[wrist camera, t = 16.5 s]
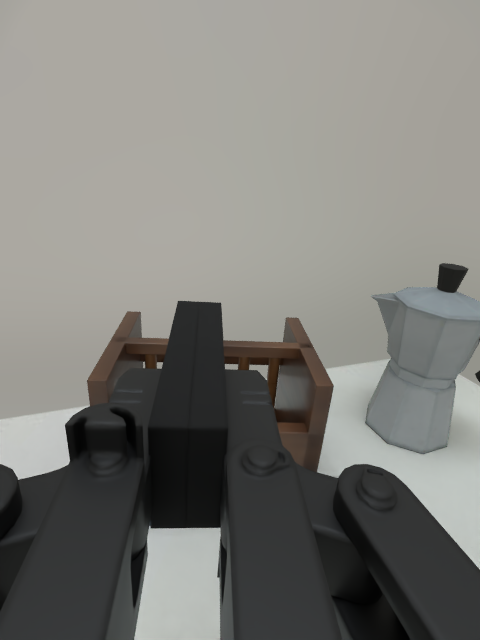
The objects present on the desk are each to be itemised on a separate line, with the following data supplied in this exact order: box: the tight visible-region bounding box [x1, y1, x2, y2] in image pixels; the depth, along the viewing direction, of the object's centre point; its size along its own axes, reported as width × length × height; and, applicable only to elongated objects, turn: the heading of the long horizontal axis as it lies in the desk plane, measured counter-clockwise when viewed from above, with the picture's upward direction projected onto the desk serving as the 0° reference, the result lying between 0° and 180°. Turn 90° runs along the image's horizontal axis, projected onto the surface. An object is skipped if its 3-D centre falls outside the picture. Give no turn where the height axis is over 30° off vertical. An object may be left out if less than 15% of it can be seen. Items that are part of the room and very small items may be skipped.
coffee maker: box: [365, 263, 480, 454], centre depth 36 cm, size 15×9×18 cm, turn 67°
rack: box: [87, 312, 334, 472], centre depth 31 cm, size 16×12×12 cm
